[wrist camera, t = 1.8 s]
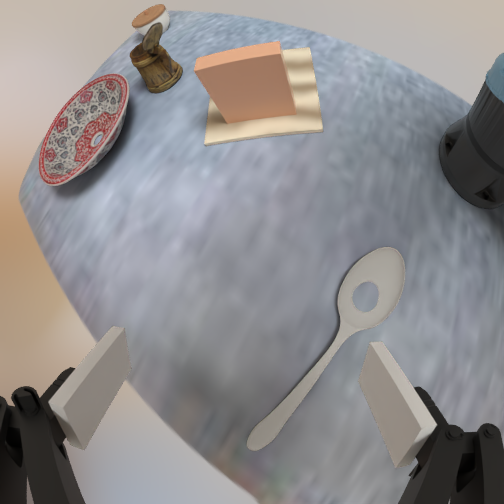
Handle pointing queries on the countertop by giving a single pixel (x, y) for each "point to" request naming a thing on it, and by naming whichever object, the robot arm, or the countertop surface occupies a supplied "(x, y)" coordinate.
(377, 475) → the countertop surface
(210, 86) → the ceramic tile
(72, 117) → the ceramic bowl
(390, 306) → the spoon
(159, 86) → the wooden mug
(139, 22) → the lidded jar
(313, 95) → the cream cloth
